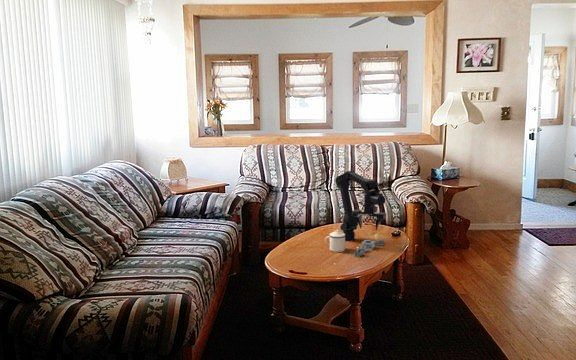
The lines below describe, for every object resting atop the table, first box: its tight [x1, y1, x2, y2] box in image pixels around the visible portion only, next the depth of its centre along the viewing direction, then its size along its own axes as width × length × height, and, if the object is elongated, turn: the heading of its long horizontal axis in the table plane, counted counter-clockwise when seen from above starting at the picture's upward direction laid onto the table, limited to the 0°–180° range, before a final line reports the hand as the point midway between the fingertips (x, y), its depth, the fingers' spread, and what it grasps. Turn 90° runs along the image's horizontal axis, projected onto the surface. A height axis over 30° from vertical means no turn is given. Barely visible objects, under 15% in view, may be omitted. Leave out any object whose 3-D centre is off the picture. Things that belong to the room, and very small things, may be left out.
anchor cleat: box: [354, 246, 364, 258], centre depth 266 cm, size 5×3×5 cm, turn 150°
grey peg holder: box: [369, 233, 385, 247], centre depth 286 cm, size 8×8×5 cm
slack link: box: [359, 245, 368, 254], centre depth 273 cm, size 4×3×2 cm
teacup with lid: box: [324, 229, 346, 253], centre depth 276 cm, size 12×9×12 cm
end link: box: [361, 239, 376, 251], centre depth 279 cm, size 6×6×4 cm
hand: (368, 229), depth 277 cm, fingers open, 9 cm apart
